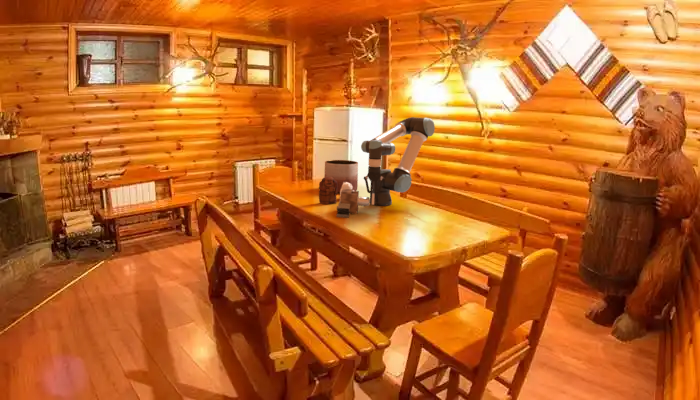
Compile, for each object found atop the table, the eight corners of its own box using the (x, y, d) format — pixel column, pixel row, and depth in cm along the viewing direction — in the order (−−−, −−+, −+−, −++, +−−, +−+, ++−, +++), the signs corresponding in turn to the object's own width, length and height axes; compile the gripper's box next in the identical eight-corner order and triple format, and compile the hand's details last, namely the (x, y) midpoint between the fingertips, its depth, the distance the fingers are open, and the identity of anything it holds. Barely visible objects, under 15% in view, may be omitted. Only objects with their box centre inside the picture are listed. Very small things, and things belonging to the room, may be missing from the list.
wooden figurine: (321, 204, 284) (322, 177, 280) (318, 202, 289) (318, 176, 285) (338, 203, 289) (338, 176, 285) (334, 201, 294) (334, 175, 291)
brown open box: (358, 209, 273) (358, 189, 271) (356, 213, 264) (357, 192, 261) (342, 209, 274) (342, 188, 272) (340, 212, 265) (340, 192, 262)
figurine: (343, 201, 296) (343, 184, 293) (336, 198, 304) (337, 181, 302) (356, 200, 300) (356, 183, 298) (349, 197, 309) (350, 180, 306)
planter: (350, 195, 315) (351, 165, 311) (318, 192, 324) (319, 162, 319) (361, 189, 339) (362, 161, 334) (332, 186, 347) (332, 159, 342)
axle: (369, 205, 270) (369, 196, 269) (368, 207, 264) (369, 198, 263) (340, 203, 271) (340, 195, 270) (339, 205, 266) (339, 196, 265)
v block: (350, 213, 263) (350, 203, 262) (348, 217, 254) (348, 207, 252) (338, 213, 264) (338, 202, 262) (336, 217, 254) (336, 206, 253)
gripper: (385, 165, 265) (383, 203, 270) (364, 164, 266) (362, 202, 271) (385, 167, 257) (383, 206, 262) (363, 166, 258) (361, 204, 263)
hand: (372, 204), depth 267 cm, fingers closed
